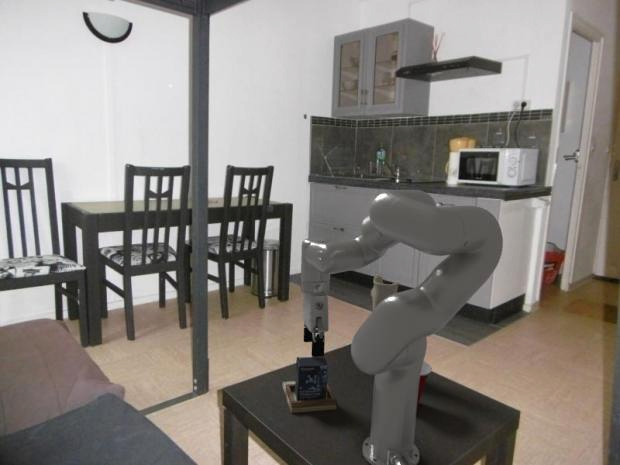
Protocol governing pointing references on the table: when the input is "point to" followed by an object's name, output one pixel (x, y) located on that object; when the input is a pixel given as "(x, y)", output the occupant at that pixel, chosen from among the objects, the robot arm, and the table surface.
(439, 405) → the table surface
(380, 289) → the vase
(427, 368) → the plastic cup
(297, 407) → the plate
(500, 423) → the table surface
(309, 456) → the table surface
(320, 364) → the box
